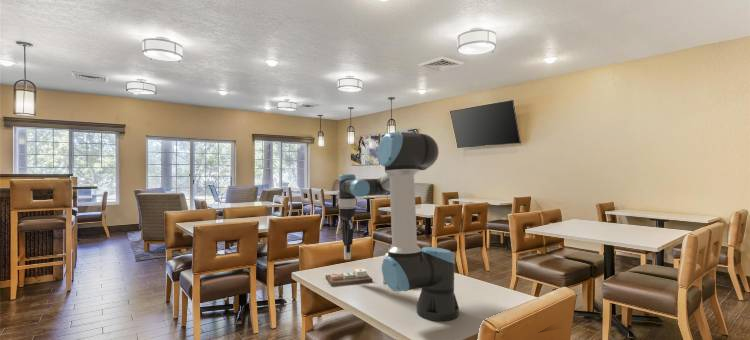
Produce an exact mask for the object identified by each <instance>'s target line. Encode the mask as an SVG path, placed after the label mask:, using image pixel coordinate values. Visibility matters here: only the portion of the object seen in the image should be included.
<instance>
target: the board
mask: <svg viewBox="0 0 750 340" xmlns="http://www.w3.org/2000/svg"><path fill="white" fill-rule="evenodd" d="M352 273H353V274H354V275H355V271H354V272H352ZM340 274H341V275H342V279H340V280H331V279H330V274H325V280H326V281H327V282H328V285H330V287H338V286H347V285H357V284H365V283H372V282H373V278H372V277H371V276H370V275H369V274H367V276H366V277H356V276H355V278H350V279H344V278H343V273H340Z"/></svg>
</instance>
